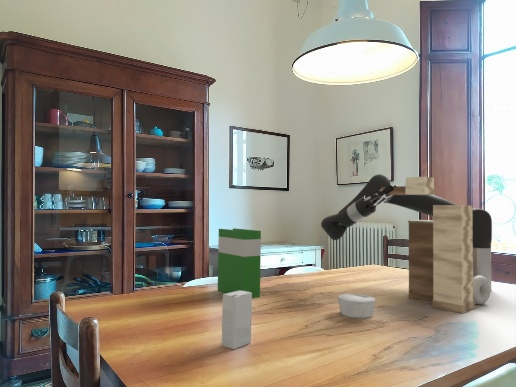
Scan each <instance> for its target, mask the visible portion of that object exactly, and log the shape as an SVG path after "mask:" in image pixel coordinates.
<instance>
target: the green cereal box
mask: <svg viewBox="0 0 516 387" xmlns="http://www.w3.org/2000/svg"><path fill="white" fill-rule="evenodd" d="M261 240H262V231H261V230H256V229H246V228H233V227H232V229H225V228H218V241H217V242H218V244H217V246H218V250H217V256H218V257H217V291H218V292H220V293H223V294H226V293H231V292H235V291H239V290H240V291H246V292H251V293H252V299H256V298H260V297H261V254H262V253H261V252H262V251H261V249H262V248H261V246H262V245H261V244H262V242H261Z"/></svg>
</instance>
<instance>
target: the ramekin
mask: <svg viewBox="0 0 516 387" xmlns="http://www.w3.org/2000/svg"><path fill="white" fill-rule="evenodd" d="M337 301H338V306H339V311H340V314H342V316H344V317H347V318H351V319H368V318H371V317H372V316H373V313H374V310H375V304H376V298H375V297H374V296H373V297H372V296H370V295H365V294H359V293H344V294H343V293H342V294H340V295H338V296H337Z"/></svg>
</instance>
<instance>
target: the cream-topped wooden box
mask: <svg viewBox="0 0 516 387" xmlns="http://www.w3.org/2000/svg"><path fill="white" fill-rule="evenodd" d="M407 223H408V298H409V299H416V300H424V301H425V300H426V301H432V300H433V219H432V220H430V219H429V220H427V219H410V220H407Z"/></svg>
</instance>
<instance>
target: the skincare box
mask: <svg viewBox="0 0 516 387" xmlns="http://www.w3.org/2000/svg"><path fill="white" fill-rule="evenodd" d="M252 300H253V298H252V293H251V292H246V291H240V290H239V291H235V292H231V293H223V294H222V307H221V308H222V312H221V313H222V314H221V315H222V316H221V318H222V320H221V321H222V322H221V346H223V347H225V348H229V349H232V350H236V349H239V348H241V347H244V346H246V345H249V344H251V343H252V313H253V312H252V307H253V306H252V305H253V304H252V303H253V302H252Z"/></svg>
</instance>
